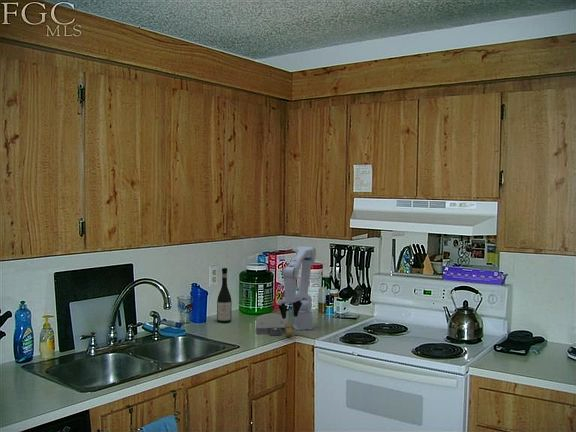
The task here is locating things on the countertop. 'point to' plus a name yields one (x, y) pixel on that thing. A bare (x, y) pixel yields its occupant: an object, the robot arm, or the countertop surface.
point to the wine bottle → (224, 301)
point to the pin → (288, 330)
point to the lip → (272, 331)
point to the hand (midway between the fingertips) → (289, 317)
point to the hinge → (270, 321)
